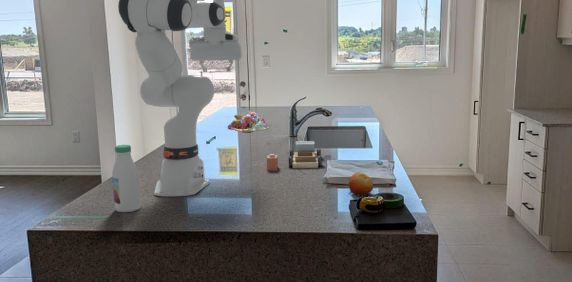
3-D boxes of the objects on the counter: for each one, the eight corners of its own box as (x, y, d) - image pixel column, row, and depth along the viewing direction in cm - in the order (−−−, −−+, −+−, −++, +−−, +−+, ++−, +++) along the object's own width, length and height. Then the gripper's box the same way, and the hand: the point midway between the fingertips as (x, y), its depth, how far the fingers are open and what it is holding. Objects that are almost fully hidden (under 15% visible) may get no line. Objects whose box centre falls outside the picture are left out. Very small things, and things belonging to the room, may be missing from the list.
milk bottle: (143, 204, 163) (138, 142, 159) (137, 212, 155) (132, 148, 151) (119, 205, 163) (113, 143, 159) (112, 213, 155) (105, 148, 151)
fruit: (351, 184, 175) (362, 166, 171) (369, 199, 171) (380, 181, 167) (338, 190, 168) (349, 171, 164) (356, 205, 165) (367, 187, 161)
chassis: (322, 167, 203) (321, 150, 201) (288, 168, 203) (288, 151, 202) (320, 156, 222) (320, 140, 221) (290, 156, 223) (289, 141, 222)
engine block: (277, 170, 201) (276, 156, 200) (267, 170, 201) (266, 156, 200) (277, 167, 206) (277, 153, 205) (267, 167, 206) (267, 153, 205)
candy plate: (220, 128, 300) (219, 112, 298) (251, 123, 315) (251, 108, 313) (246, 133, 282) (246, 116, 280) (278, 127, 297) (278, 111, 295)
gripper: (187, 37, 199) (189, 73, 201) (239, 35, 198) (241, 71, 201) (190, 37, 205) (192, 72, 207) (241, 35, 204) (242, 70, 207)
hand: (216, 71), depth 204 cm, fingers open, 8 cm apart
